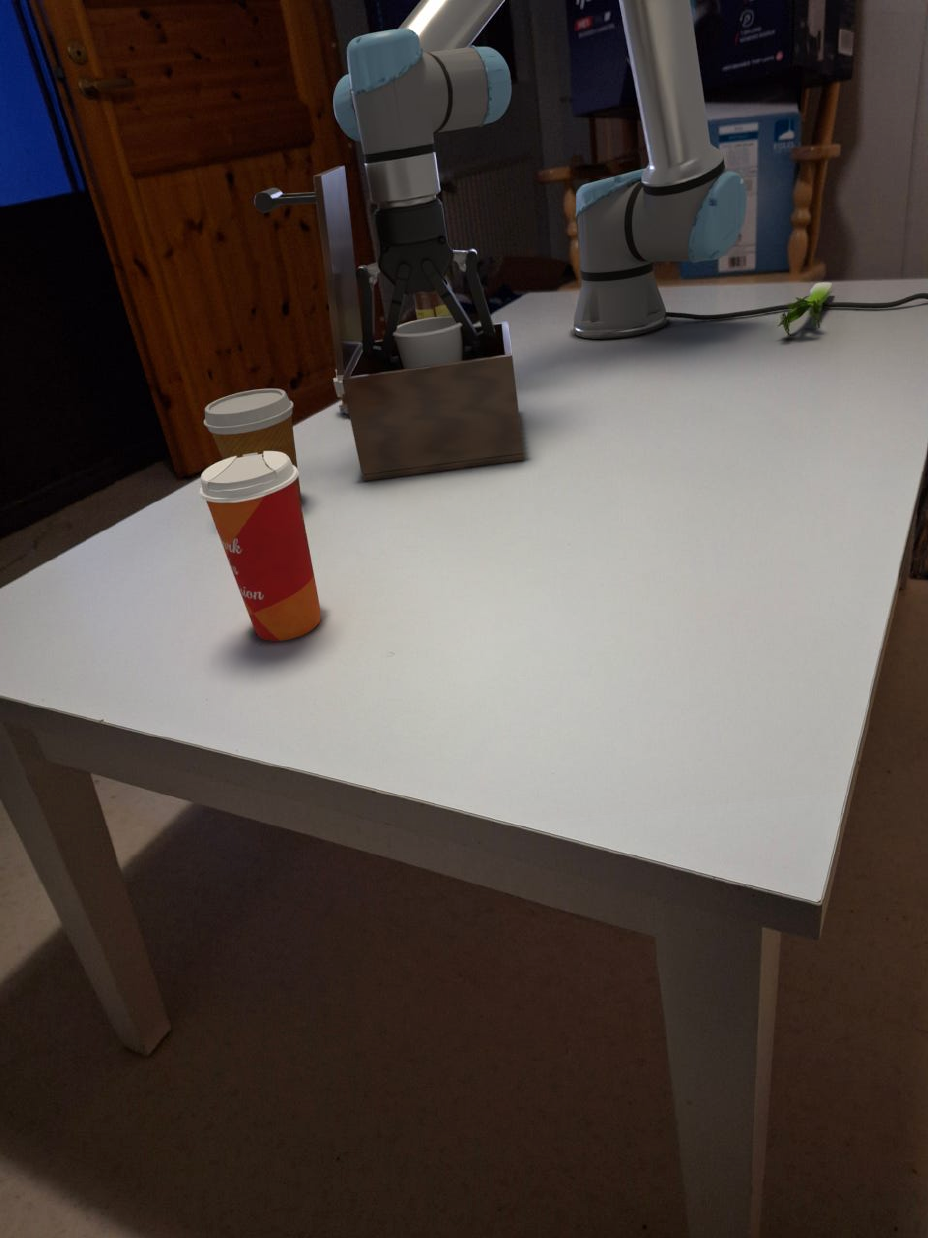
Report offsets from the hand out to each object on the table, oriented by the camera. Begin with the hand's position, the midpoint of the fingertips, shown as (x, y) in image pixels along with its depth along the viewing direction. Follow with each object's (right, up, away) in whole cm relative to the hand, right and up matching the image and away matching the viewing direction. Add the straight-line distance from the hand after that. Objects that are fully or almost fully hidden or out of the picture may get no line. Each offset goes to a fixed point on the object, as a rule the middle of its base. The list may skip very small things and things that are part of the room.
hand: (439, 408), depth 107 cm
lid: (-10, +14, -8) cm, 19 cm away
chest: (+1, -4, +2) cm, 5 cm away
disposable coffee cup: (-18, -13, -7) cm, 24 cm away
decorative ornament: (-11, +5, +22) cm, 25 cm away
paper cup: (-12, -26, -32) cm, 43 cm away
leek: (+56, +21, +31) cm, 67 cm away
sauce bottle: (0, +13, +34) cm, 36 cm away
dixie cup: (0, 0, 0) cm, 0 cm away
